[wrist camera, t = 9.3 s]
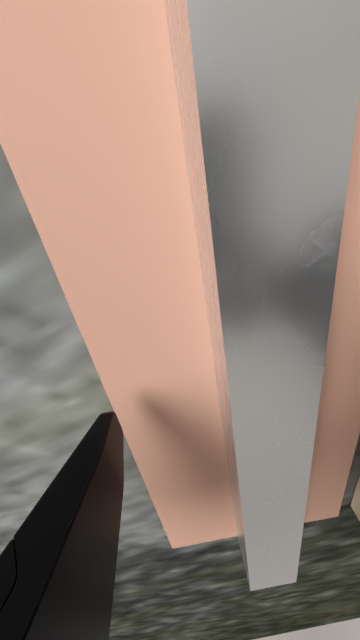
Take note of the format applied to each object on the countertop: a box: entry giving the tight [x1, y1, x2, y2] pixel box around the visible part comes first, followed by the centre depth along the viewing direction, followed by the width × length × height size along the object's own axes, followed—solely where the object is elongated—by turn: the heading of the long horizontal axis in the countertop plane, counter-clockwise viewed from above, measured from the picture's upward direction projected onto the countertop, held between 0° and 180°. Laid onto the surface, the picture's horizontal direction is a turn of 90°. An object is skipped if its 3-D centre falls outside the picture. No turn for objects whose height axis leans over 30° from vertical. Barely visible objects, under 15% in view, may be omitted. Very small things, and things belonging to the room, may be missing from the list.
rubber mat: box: [0, 0, 360, 549], centre depth 10 cm, size 26×10×1 cm, turn 10°
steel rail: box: [164, 0, 360, 591], centre depth 8 cm, size 26×2×2 cm, turn 10°
